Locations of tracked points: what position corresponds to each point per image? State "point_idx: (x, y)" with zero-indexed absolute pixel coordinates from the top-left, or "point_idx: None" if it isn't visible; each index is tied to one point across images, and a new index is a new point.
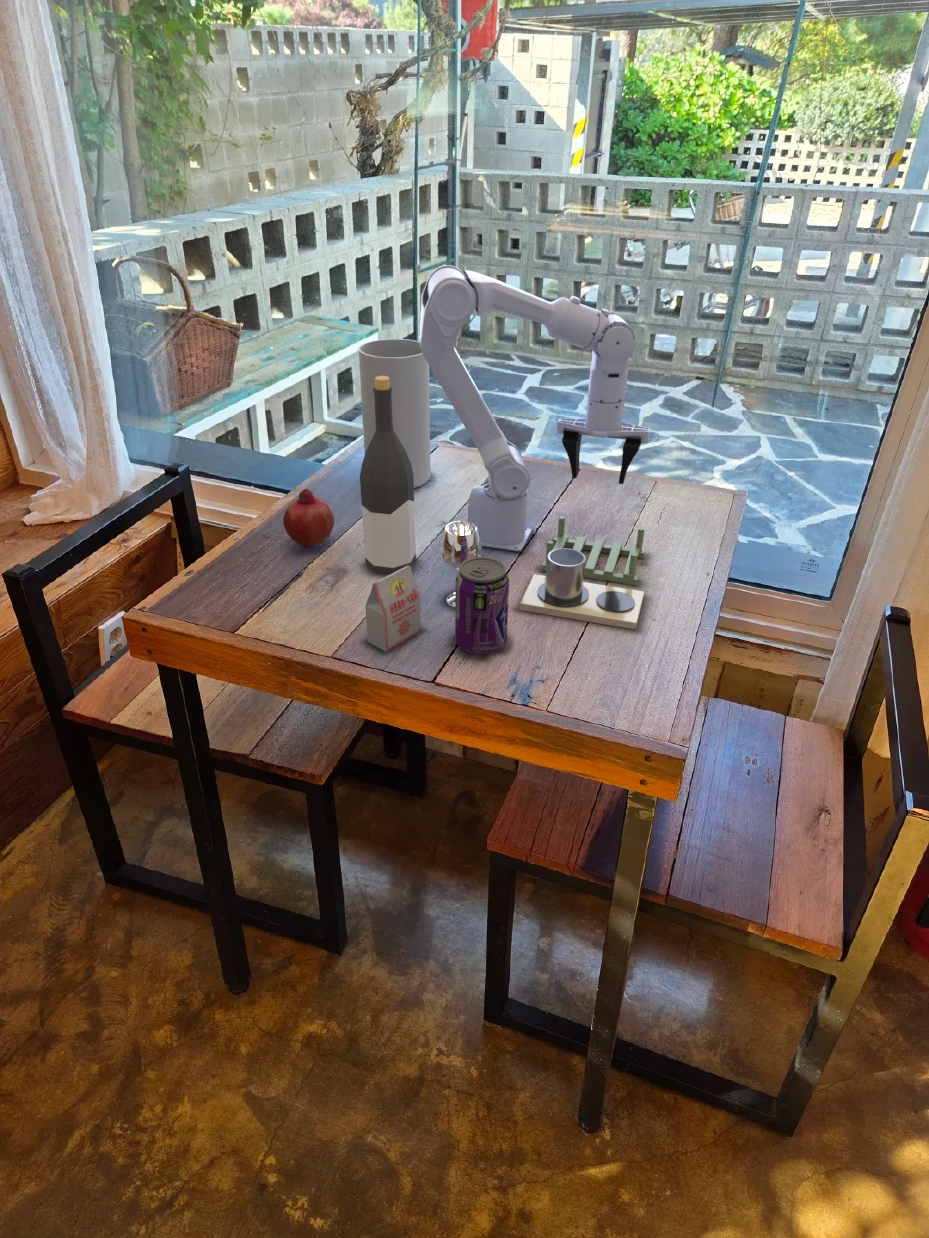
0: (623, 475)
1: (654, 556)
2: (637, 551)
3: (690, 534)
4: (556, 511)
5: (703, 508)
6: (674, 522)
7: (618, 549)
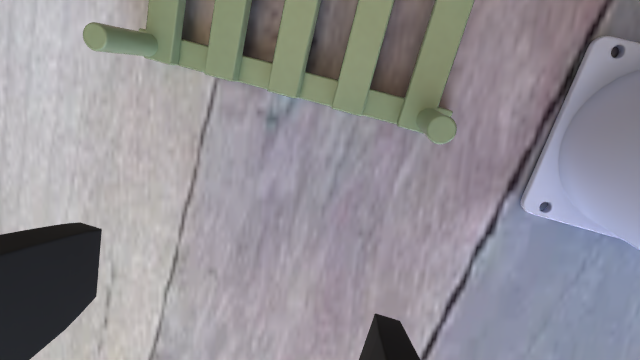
0: (14, 236)
1: None
2: (152, 5)
3: (27, 200)
4: None
5: None
6: None
7: (217, 15)
